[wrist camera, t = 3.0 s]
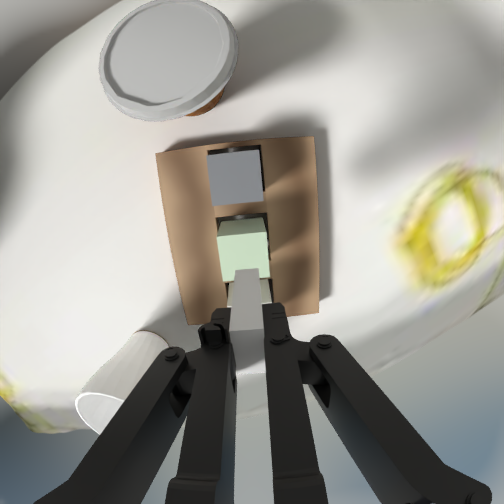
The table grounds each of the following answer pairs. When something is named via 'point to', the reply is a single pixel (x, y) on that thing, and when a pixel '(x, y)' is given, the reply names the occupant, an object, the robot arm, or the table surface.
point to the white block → (264, 292)
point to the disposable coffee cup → (168, 60)
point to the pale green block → (243, 247)
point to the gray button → (235, 177)
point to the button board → (275, 205)
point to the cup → (117, 379)
